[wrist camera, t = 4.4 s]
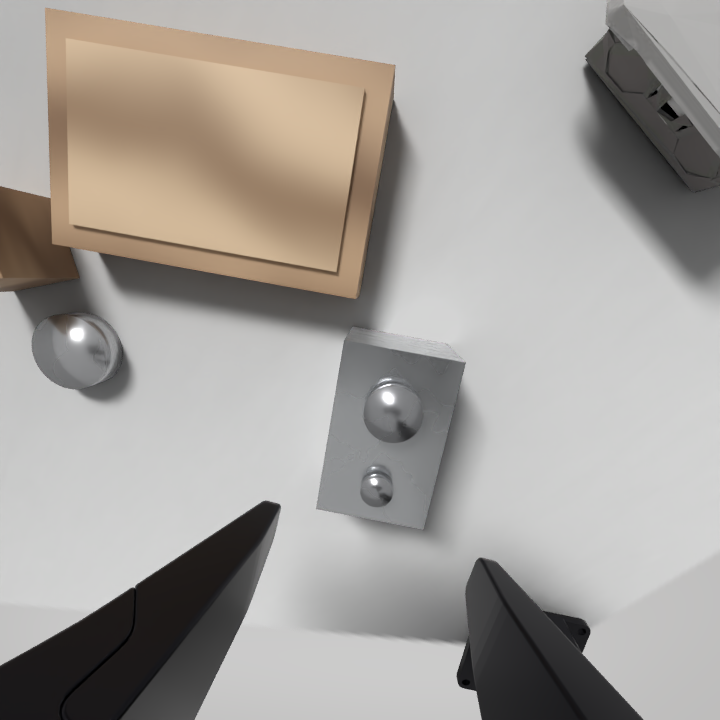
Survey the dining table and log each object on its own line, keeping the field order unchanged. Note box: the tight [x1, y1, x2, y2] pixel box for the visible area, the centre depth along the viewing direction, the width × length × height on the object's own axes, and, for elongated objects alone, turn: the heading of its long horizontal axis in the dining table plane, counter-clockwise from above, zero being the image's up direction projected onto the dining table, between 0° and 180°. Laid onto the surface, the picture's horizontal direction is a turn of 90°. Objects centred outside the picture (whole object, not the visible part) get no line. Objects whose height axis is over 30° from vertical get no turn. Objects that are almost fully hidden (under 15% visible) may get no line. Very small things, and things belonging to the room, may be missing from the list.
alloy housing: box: [316, 327, 466, 530], centre depth 17 cm, size 8×5×5 cm, turn 170°
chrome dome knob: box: [32, 312, 123, 389], centre depth 19 cm, size 4×4×2 cm
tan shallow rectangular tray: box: [45, 8, 395, 299], centre depth 16 cm, size 9×14×3 cm, turn 80°
